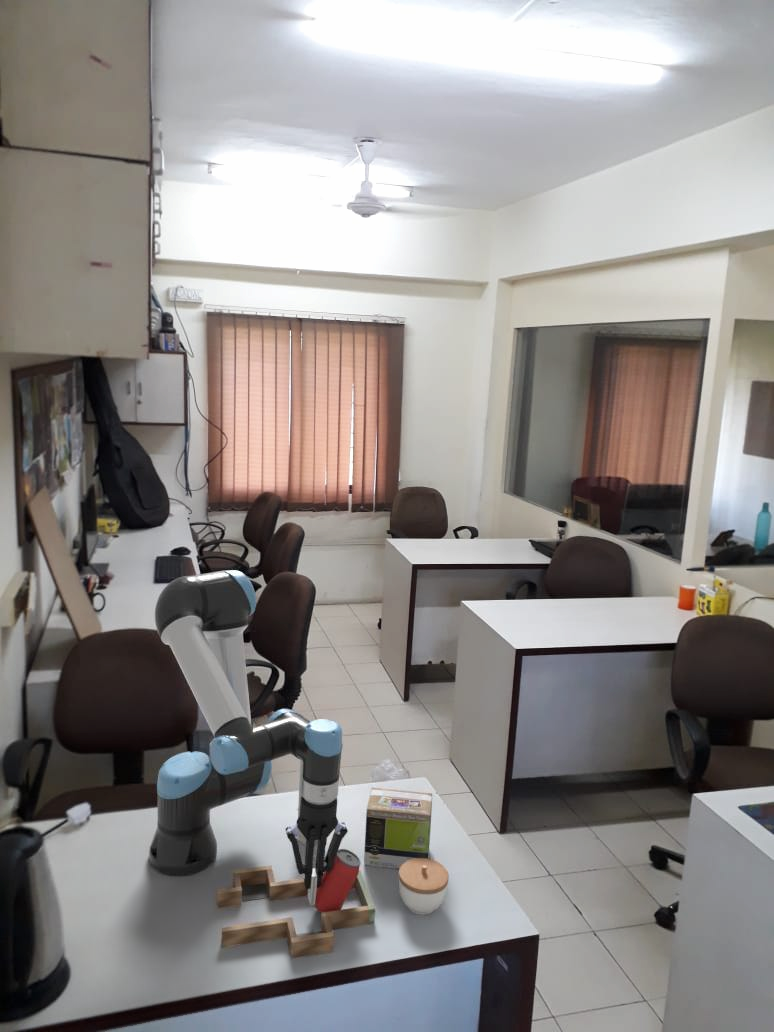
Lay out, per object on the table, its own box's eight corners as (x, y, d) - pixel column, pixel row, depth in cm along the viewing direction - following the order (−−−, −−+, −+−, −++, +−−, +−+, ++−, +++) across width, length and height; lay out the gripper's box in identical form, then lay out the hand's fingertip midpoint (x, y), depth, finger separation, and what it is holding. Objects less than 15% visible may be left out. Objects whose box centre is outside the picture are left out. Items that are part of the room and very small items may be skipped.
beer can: (341, 906, 164) (365, 858, 163) (334, 922, 158) (359, 872, 157) (315, 890, 165) (338, 842, 164) (306, 906, 159) (331, 856, 158)
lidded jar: (439, 887, 172) (442, 849, 170) (451, 921, 161) (454, 881, 159) (392, 889, 170) (395, 852, 168) (401, 924, 159) (404, 884, 158)
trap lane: (224, 969, 145) (224, 953, 144) (215, 886, 167) (215, 872, 166) (381, 943, 154) (383, 928, 153) (353, 868, 176) (354, 854, 175)
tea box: (429, 847, 186) (433, 792, 183) (427, 874, 176) (432, 816, 173) (367, 840, 187) (371, 785, 184) (362, 866, 177) (366, 808, 174)
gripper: (291, 808, 150) (283, 916, 154) (353, 803, 154) (344, 909, 158) (285, 788, 157) (278, 892, 161) (345, 784, 161) (336, 886, 165)
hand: (311, 900), depth 159 cm, fingers closed
